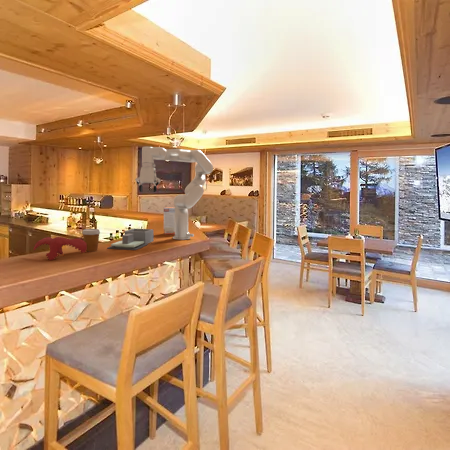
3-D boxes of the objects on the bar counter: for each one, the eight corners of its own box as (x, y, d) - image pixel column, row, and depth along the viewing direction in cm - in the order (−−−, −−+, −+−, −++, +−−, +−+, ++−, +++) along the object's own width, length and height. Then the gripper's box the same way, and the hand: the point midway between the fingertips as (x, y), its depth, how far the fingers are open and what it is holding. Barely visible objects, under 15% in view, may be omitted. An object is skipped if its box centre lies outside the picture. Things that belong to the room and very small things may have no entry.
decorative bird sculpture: (83, 268, 167) (92, 243, 176) (75, 258, 159) (85, 233, 168) (30, 265, 169) (42, 241, 178) (20, 256, 162) (33, 231, 170)
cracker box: (183, 233, 261) (183, 207, 258) (181, 235, 255) (181, 208, 252) (165, 233, 262) (165, 206, 260) (163, 234, 256) (163, 207, 254)
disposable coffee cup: (99, 252, 185) (99, 230, 184) (81, 252, 183) (80, 231, 181) (101, 248, 194) (100, 228, 193) (83, 249, 192) (83, 228, 190)
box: (153, 240, 226) (153, 229, 225) (145, 244, 212) (145, 232, 211) (134, 239, 228) (134, 228, 227) (124, 243, 214) (124, 231, 213)
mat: (147, 244, 210) (147, 244, 210) (135, 250, 193) (135, 249, 193) (121, 243, 213) (121, 242, 213) (106, 248, 196) (106, 247, 196)
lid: (144, 244, 209) (144, 233, 208) (134, 248, 195) (134, 237, 194) (122, 243, 211) (122, 232, 211) (111, 247, 197) (110, 235, 196)
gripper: (162, 166, 220) (162, 192, 222) (137, 166, 223) (138, 191, 225) (158, 165, 213) (158, 192, 215) (133, 165, 216) (133, 191, 218)
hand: (147, 191), depth 220 cm, fingers open, 9 cm apart
